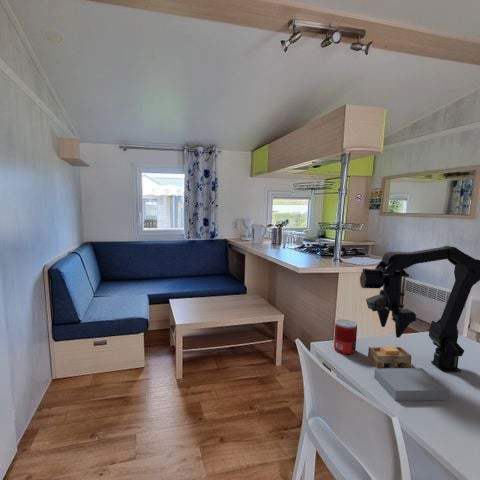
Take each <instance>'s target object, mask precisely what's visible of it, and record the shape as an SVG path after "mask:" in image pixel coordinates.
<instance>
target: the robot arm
mask: <svg viewBox="0 0 480 480" xmlns="http://www.w3.org/2000/svg"><path fill="white" fill-rule="evenodd" d="M381 259H382V260H381V261H379V263H378V264H377V265H376V266H375V268H371V269H370V268H362V272H361V274H360V277H359V284H360V287H361V288H362V289H380V290H379V294H376V295H373V296H371V297H368V298H366V299H365V302H366V305H367V307H368V309H370V310H371V311H372V312H376V313H377V316H378V320H379V322H380V327H382V328H385V327H386V324H387V322H388V319H389V316H390V313H391V317H392V318H391V320H392V321H393V322H394V327H395V337H396V338H401V336H402V335H403V334H404V332H405V331H406V329H407V328H408V327H409V326H410V324H411V323H414V322H416V321H417V314H416V313H415V312H414V311H412V310H410V309H408V308H404V307H405V306H404V304H403V303H402V297H405V292H403V291H402V290H403V289H402V288H403V277H404V278H405V277H407V278H408V277H410V274H409V273H407V272H406V270H405V269H408V268H410V267H412V266H414V265H417V264H423V263H425V264H426V263H430V262H431V263H432V262H436V261H443V260H447V261H448V262H449V263H451V264H452V265H453V266H454V271H453V273H454V275H453V276H454V284H453V286H452V289H451V291H450V294H449V296H448V299H447V301H446V303H445V307H444V309H443V311H442V314H441V317H440V318H439V319H438V320H437V321H435V320H432V321H431V322H430V327H429V328H428V329H427V331H428V336H429V338H430V340H431V341H432V344H433V345H434V346H436V347H435V352H434V353H433V360H431V361H430V363H431V364H433V365H434V366H435V367H437V369H439V370H441V372H446V373H447V372H461V371H462V369H460V368H459V367H458V365H459V357H462V356H463V355H464V353H465V350H464V349H463V347H462V346H461V345H460V344H459V343H458V339H459V330H458V324H459V321H460V319H461V316H462V314H463V311H464V308H465V306H466V303H467V301H468V298H469V295H470V294H471V291H472V288H473V287H474V285H475V284H477V283H478V282H480V259H478V258H477V259H476V258H474V257H472V256H470V255H469V254H466V253H465V252H464V251H462V250H460V249H459V248H458V247H456V246H451V245H443V246H440V247H435V248H427V249H423V250H415V251H407V252H406V251H387V252H385V253H384V255H383V256H382V257H381ZM381 288H382V289H381Z"/></svg>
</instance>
